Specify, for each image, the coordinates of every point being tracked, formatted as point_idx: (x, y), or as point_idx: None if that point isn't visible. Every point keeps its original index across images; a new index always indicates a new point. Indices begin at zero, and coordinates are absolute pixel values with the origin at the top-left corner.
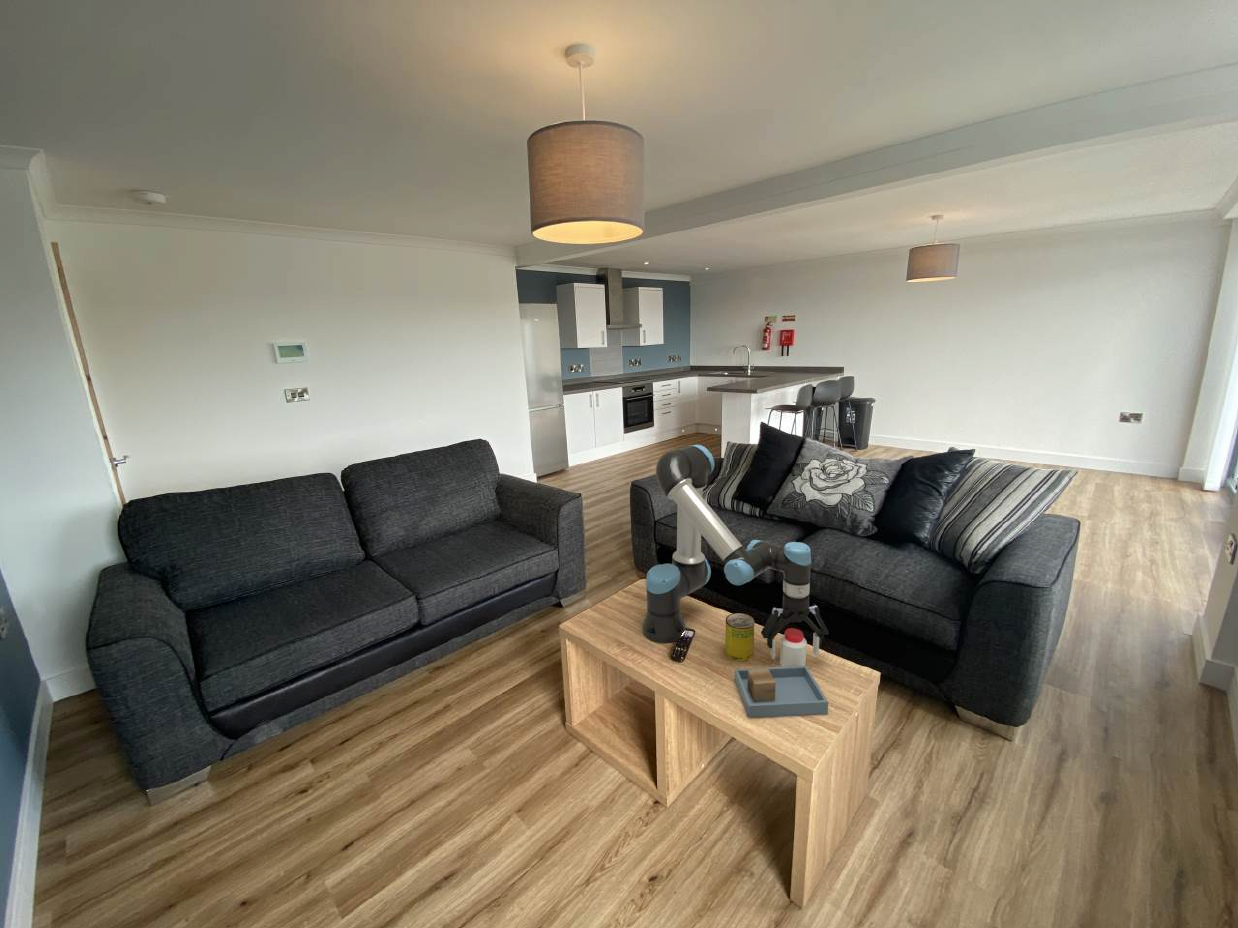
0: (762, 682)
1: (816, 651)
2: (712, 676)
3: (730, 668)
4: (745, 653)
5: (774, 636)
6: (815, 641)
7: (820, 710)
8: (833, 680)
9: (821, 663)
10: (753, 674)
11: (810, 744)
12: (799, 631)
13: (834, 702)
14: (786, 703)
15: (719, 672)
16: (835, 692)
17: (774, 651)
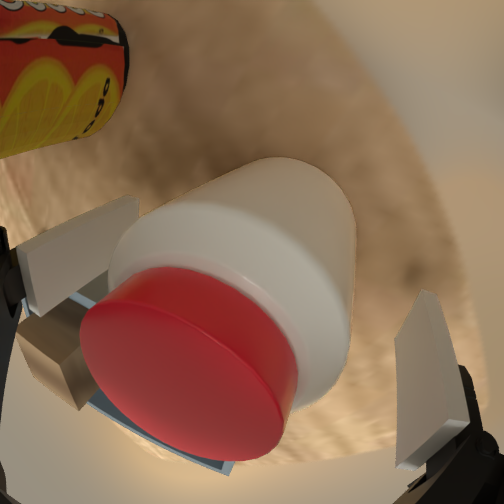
0: (48, 387)
1: (397, 364)
2: (7, 194)
3: (38, 170)
4: (48, 145)
5: (14, 326)
6: (410, 405)
7: None
8: (379, 389)
9: (437, 290)
10: (26, 351)
11: (164, 449)
12: (254, 415)
13: (291, 439)
14: (119, 423)
15: (17, 182)
16: (330, 423)
17: (101, 270)
